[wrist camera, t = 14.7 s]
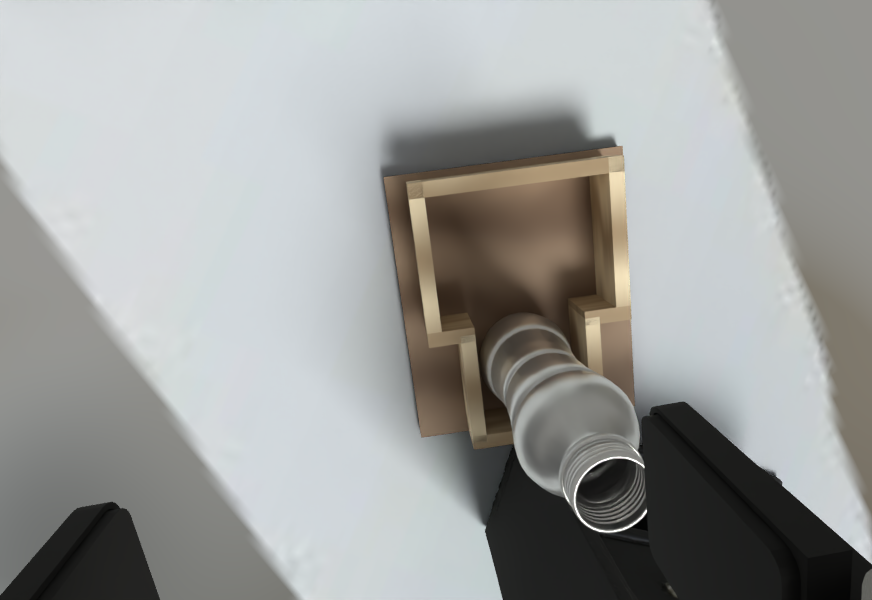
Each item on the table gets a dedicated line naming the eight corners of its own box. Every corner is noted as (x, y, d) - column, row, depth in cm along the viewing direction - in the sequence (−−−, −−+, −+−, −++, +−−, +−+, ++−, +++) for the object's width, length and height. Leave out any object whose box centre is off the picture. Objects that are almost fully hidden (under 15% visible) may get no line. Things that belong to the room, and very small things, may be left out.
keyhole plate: (383, 177, 41) (381, 178, 36) (617, 146, 42) (646, 144, 37) (420, 431, 46) (423, 463, 41) (629, 401, 46) (657, 429, 41)
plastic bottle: (464, 378, 44) (516, 548, 24) (490, 294, 42) (568, 404, 23) (543, 398, 45) (655, 578, 25) (571, 316, 43) (713, 441, 24)
